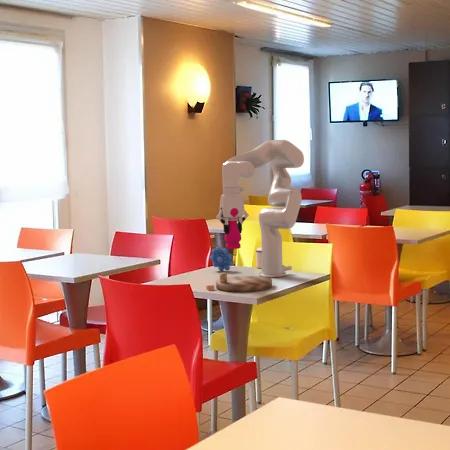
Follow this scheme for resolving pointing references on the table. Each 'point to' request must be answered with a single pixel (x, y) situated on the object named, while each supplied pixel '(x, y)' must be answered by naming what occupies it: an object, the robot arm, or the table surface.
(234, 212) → the pepper mill
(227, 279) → the disc
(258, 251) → the teacup with lid
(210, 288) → the block
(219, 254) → the blue lumpy piece
